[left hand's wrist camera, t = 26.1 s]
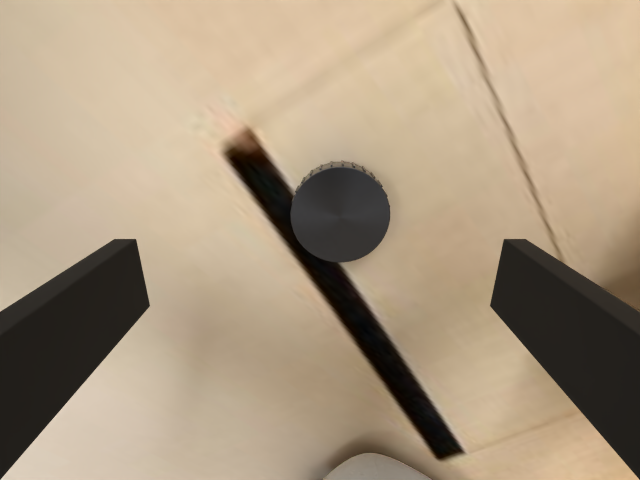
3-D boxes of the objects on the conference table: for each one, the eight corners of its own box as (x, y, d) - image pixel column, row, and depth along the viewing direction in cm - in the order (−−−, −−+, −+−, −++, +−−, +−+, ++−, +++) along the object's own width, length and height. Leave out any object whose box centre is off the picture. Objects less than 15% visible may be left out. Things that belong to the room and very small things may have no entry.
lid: (404, 210, 23) (412, 220, 21) (335, 266, 24) (336, 281, 22) (343, 139, 21) (344, 142, 19) (274, 204, 23) (268, 213, 21)
